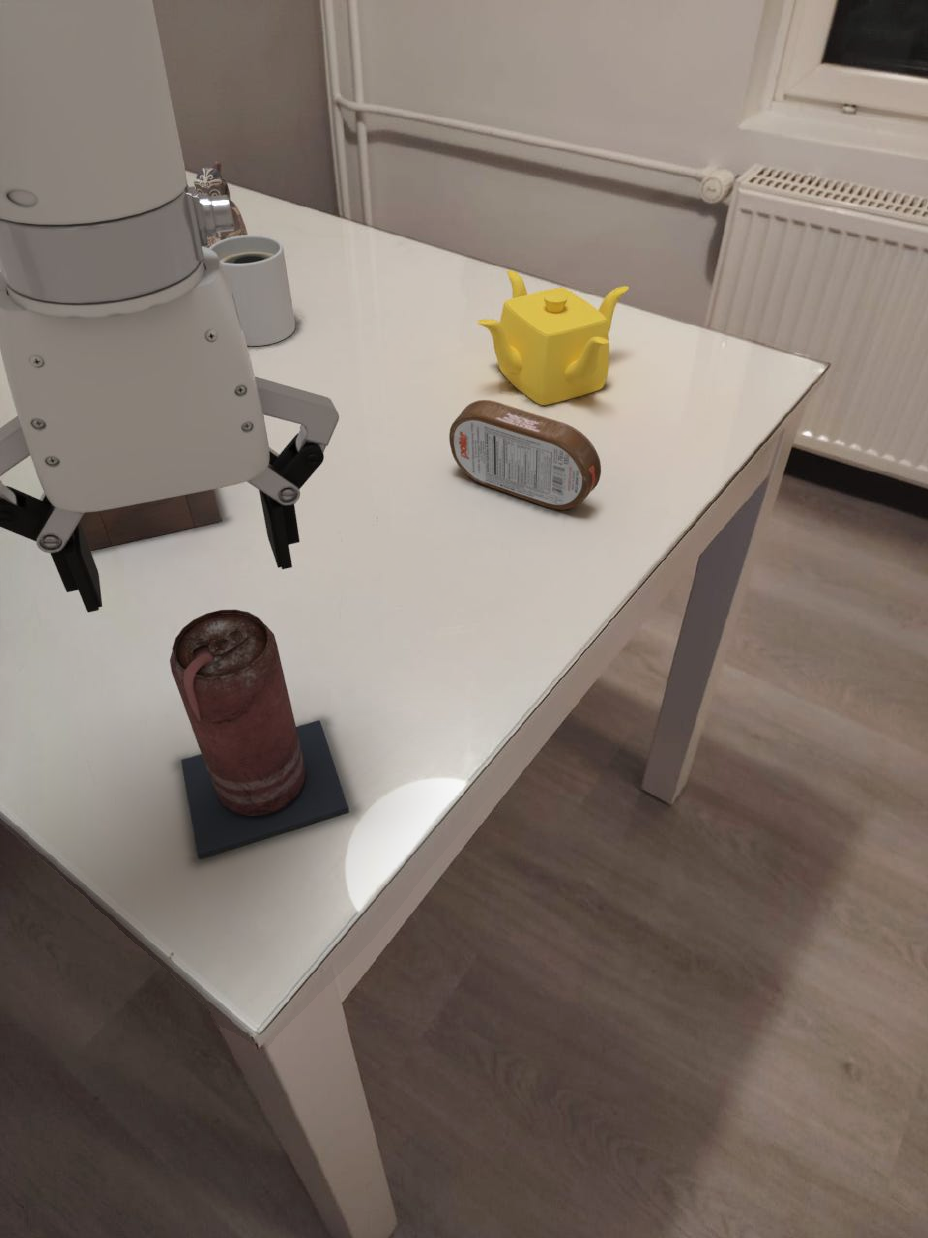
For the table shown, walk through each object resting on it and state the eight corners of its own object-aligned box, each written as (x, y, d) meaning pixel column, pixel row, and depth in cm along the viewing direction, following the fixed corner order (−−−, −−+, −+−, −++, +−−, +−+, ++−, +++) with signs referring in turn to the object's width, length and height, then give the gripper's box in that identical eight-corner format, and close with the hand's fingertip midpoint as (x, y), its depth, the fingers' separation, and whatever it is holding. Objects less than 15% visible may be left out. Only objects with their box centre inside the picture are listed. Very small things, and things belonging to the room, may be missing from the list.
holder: (83, 552, 78) (61, 498, 74) (76, 477, 86) (55, 424, 82) (221, 521, 81) (208, 468, 77) (202, 451, 89) (188, 399, 85)
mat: (199, 859, 56) (197, 855, 56) (182, 764, 61) (180, 759, 61) (349, 812, 58) (348, 807, 58) (320, 724, 64) (319, 719, 63)
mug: (302, 314, 111) (291, 235, 104) (284, 350, 104) (270, 268, 97) (220, 311, 112) (203, 232, 105) (197, 347, 105) (177, 264, 98)
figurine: (191, 262, 123) (170, 171, 115) (219, 243, 128) (202, 155, 119) (233, 270, 121) (216, 178, 113) (261, 251, 126) (246, 161, 117)
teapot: (506, 340, 106) (508, 261, 99) (621, 355, 103) (631, 275, 96) (472, 400, 96) (473, 317, 89) (598, 419, 93) (609, 335, 86)
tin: (597, 507, 82) (607, 430, 76) (583, 525, 80) (592, 448, 74) (461, 461, 88) (460, 386, 82) (445, 477, 86) (443, 402, 80)
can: (198, 810, 58) (142, 670, 48) (242, 737, 62) (199, 595, 52) (281, 833, 57) (241, 694, 47) (320, 757, 61) (291, 615, 51)
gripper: (296, 186, 38) (331, 500, 50) (-139, 232, 34) (13, 565, 46) (339, 249, 33) (367, 581, 45) (-165, 313, 29) (13, 663, 41)
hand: (189, 572), depth 46 cm, fingers open, 9 cm apart
